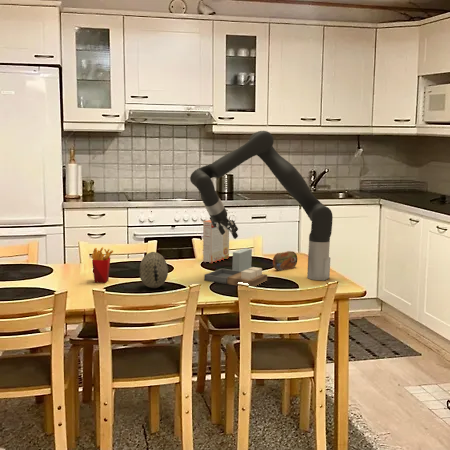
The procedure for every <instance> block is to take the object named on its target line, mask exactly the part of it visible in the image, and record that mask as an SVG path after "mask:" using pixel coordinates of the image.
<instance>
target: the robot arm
mask: <svg viewBox="0 0 450 450" xmlns="http://www.w3.org/2000/svg"><path fill="white" fill-rule="evenodd" d="M273 145H274V136H273V135H272V134H271V133H270V132H269V131H268V130H258V131H256V132H254V133H253V134H251V135H250V137H249V138H248V141H247V142H246V143H245V144H243V145H242V146H240V147H237V148H236V149H233V151H230V152H228V153H227V154H224V156H222V157H220V158H218V159H216V160H215V161H214V162H212V163H209V164H207V165H204V166H202V167H201V166H200V167H199V168H196V169H195V170H194V171H193V172H192V173H191V174H190V177H189V180H190V183H191V184H192V185H193V186H194V187H196V188H197V190H198V191H199V194H200V195H199V196H200V199H201V200H202V203H203V204H204V206H205V209H206V211H207V214H208V215H209V220H211V222H212V224H213V226H214V227H216V228H217V229H219V231H220V233H221V235H223V234H224V233H225V230H224V228H225V229H226V230H229V233H230V234H231V236H232V238H233V240H234V239H235V240H236V239H237V238H238V237H239V234H238V232H237V231H238V230H239V228H238V226H237V225H236V223H235V221H234V220H233V219H231V220H230V219H229V218H228V212H227V209H226V207H225V206H224V203H223V201H222V200H221V198H220V197H219V195H218V193H217V191H216V189H215V184H214V182H213V180H212V178H216V179H220V178H221V177H224V176H225V175H226V174H228V173H230V172H231V171H233V170H234V169H237V167H239V166H240V165H242V164H243V163H244V162H247V161H248V160H249V159H251V158H253V157H255V156H257V157H258V158H259V159H260V160H261V161H263V162H264V164H265V165H266V166H267V167H268V169H269V171H271V174H273V175H274V176H275V178H276V179H277V181H278V182H279V183H280V184H281V185H282V187H283V188H284V189H285V190H286V191H287V193H288V194H289V195H290V196H291V197H292V198H294V200H296V202H297V203H298V204H299V205H300V206H301V208H302V209H303V211H304V212H305V214H306V215H307V217H308V218H309V220H310V221H311V228H310V233H309V234H308V251H307V254H308V255H307V275H306V276H307V279H308V280H313V281H326V280H328V279H330V274H331V273H330V272H331V257H330V241H331V240H330V239H331V236H332V231H333V212H332V210H331V209H330V207H328V206H326V205H324V204H323V203H322V202H321V201H320V200H319V199H318V198H317V197H316V196H315V195H314V193H312V191H311V189H310V187H309V185H308V184H307V181H306V180H305V179H304V177H303V176H302V174H301V173H300V171H298V170H297V168H296V167H295V166H294V165H293V164H291V162H289V161H288V160H287V159H285V158H284V157H283V156H282V155H281V154H279V153H278V151H277V150H276V149H275V147H274V146H273ZM228 219H229V220H228ZM215 222H216V223H215ZM228 225H229V227H228V228H227V226H228ZM223 227H224V228H223Z"/></svg>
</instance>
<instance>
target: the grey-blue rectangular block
mask: <svg viewBox="0 0 450 450" xmlns="http://www.w3.org/2000/svg"><path fill="white" fill-rule="evenodd" d="M252 253H253V249H252V248H246V247H245V248H242V249H239V250H236V251H233V252H232V269H231V270H236V271H244V270H246V269H247V270H248V269H249V268H251V267H252V261H253V260H252Z"/></svg>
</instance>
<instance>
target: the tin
mask: <svg viewBox="0 0 450 450" xmlns="http://www.w3.org/2000/svg"><path fill="white" fill-rule="evenodd" d="M297 263H298V255H297V253H296V251H291V250H287V251H282V252H277V253H276V254H274V256H273V258H272V267H273V268H274V269H275V270H276V271H287V270H292V269H294V268H295V267H296V265H297Z"/></svg>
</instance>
